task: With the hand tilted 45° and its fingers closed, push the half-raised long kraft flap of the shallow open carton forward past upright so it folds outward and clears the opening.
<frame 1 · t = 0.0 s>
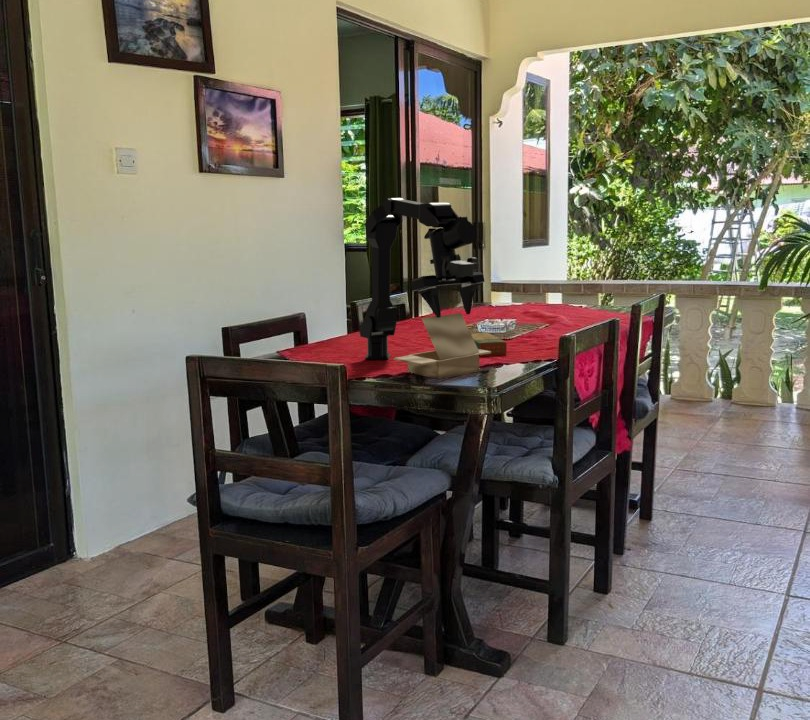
hand: (453, 315, 207), 15 cm above the table, tool pointing down, fingers open, 9 cm apart
flap: (450, 335, 213), point 10 cm above the table, hinge at 55.0°
carton: (484, 352, 246), on the table
open box: (443, 371, 217), on the table
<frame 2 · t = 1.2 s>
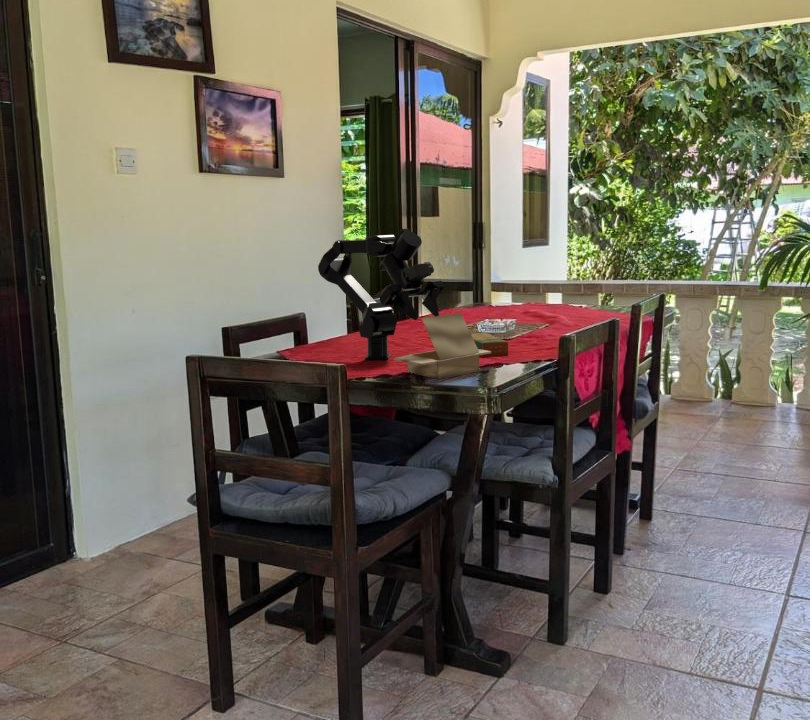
hand: (427, 317, 219), 13 cm above the table, tool tilted 45°, fingers open, 7 cm apart
nothing on the table moved.
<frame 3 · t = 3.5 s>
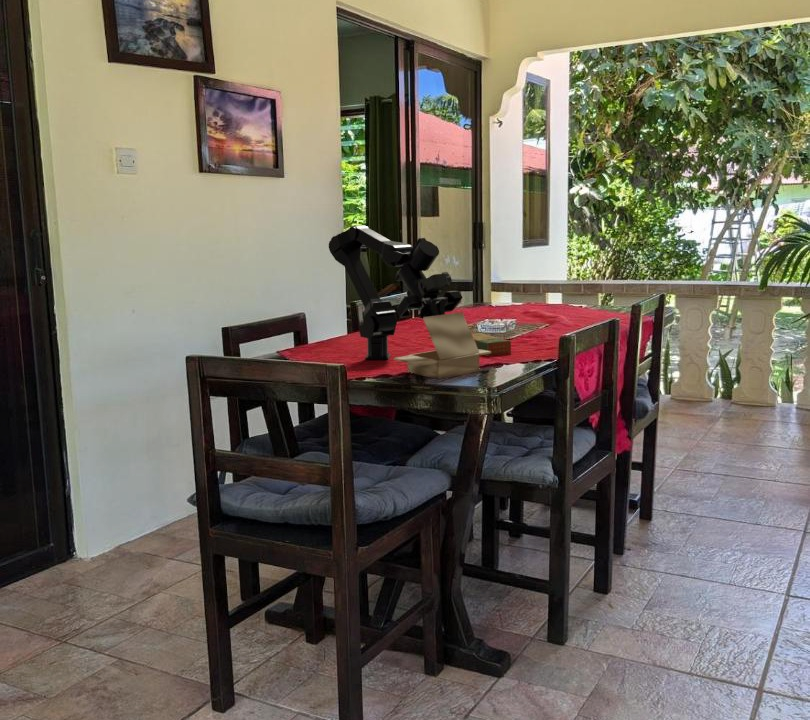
hand: (445, 329, 214), 11 cm above the table, tool tilted 45°, fingers closed, pressing on flap
flap: (451, 335, 212), point 10 cm above the table, hinge at 57.6°, touching gripper
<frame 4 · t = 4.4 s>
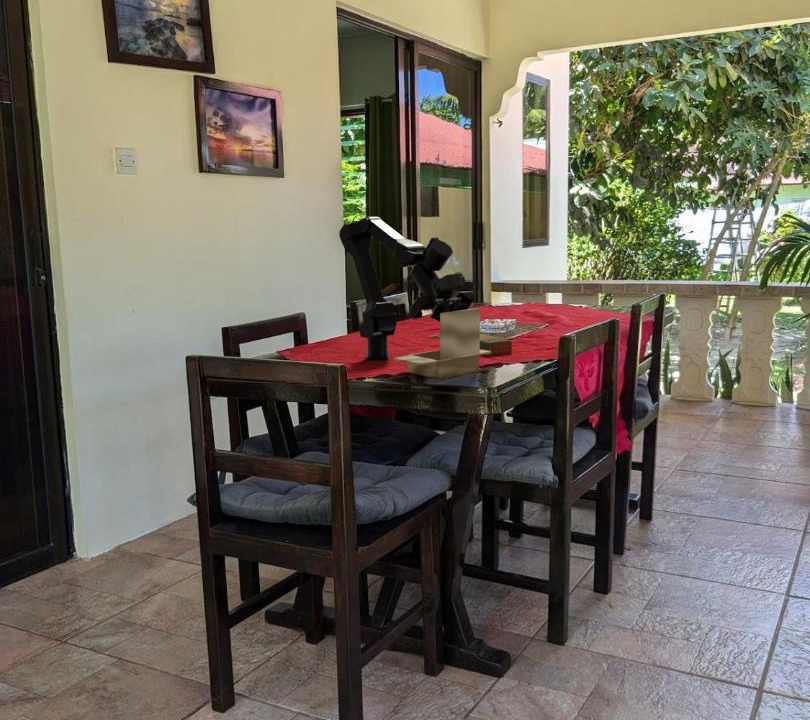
hand: (459, 330, 210), 11 cm above the table, tool tilted 45°, fingers closed, pressing on flap
flap: (460, 333, 210), point 11 cm above the table, hinge at 91.1°, touching gripper
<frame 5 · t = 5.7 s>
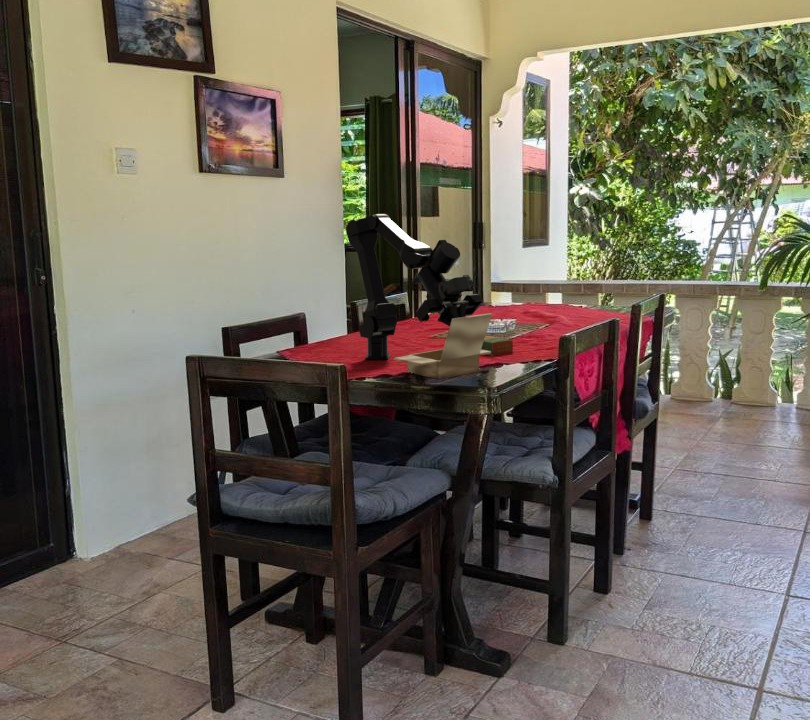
hand: (466, 333, 208), 11 cm above the table, tool tilted 45°, fingers closed, pressing on flap
flap: (466, 336, 208), point 10 cm above the table, hinge at 112.7°, touching gripper
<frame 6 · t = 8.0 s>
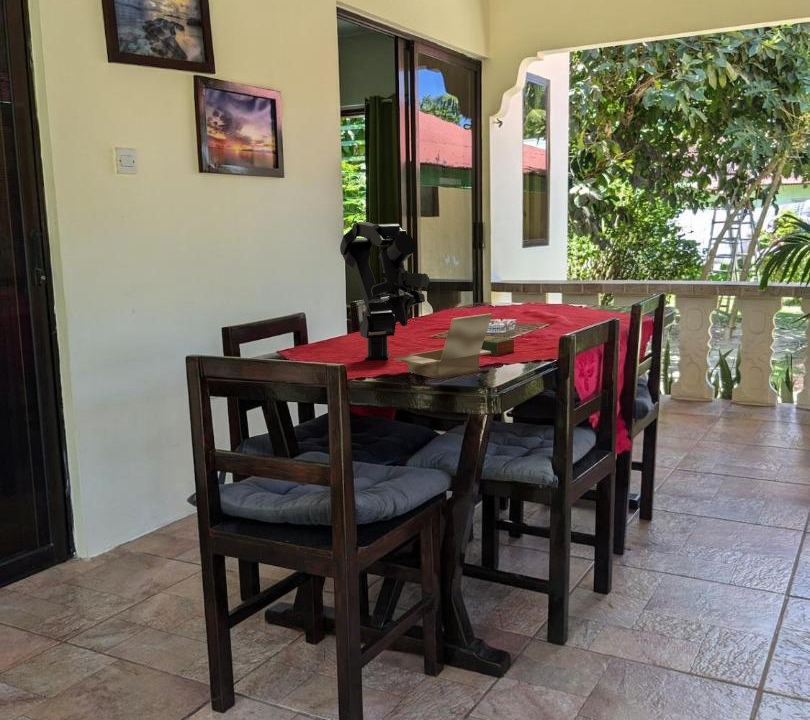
hand: (404, 325, 218), 12 cm above the table, tool tilted 25°, fingers closed
flap: (466, 336, 208), point 10 cm above the table, hinge at 112.8°
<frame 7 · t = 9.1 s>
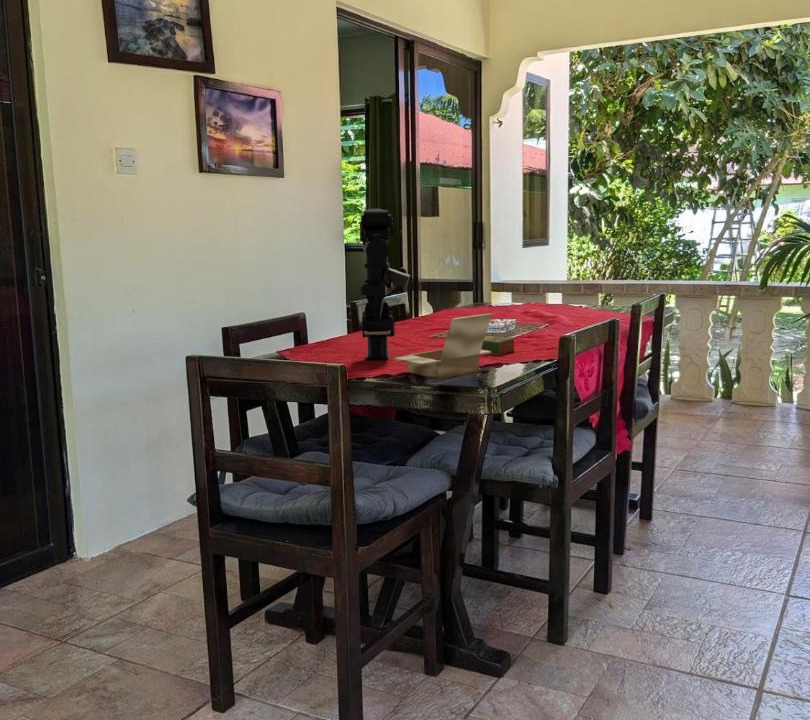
hand: (378, 319, 221), 13 cm above the table, tool pointing down, fingers closed
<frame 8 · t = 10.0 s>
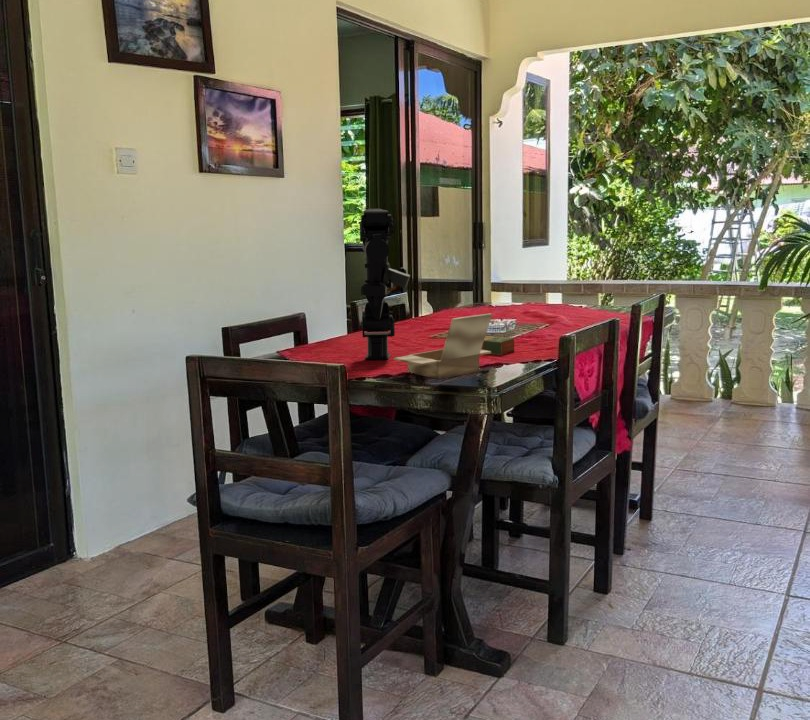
hand: (378, 319, 221), 13 cm above the table, tool pointing down, fingers closed
at the end: flap at +113° (first picture: +55°); carton moved 0.6 cm from its start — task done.
